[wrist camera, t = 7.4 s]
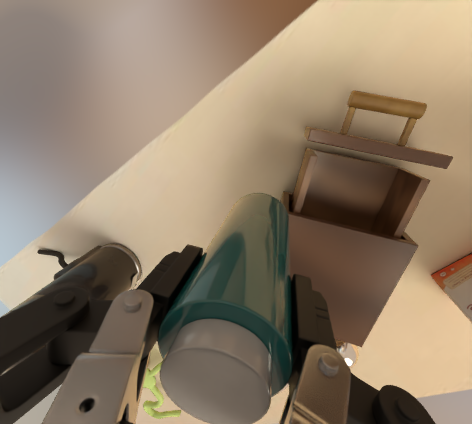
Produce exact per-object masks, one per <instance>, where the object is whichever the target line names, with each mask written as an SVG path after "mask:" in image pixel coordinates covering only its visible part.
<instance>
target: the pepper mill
mask: <svg viewBox="0 0 472 424" xmlns="http://www.w3.org/2000/svg"><path fill="white" fill-rule="evenodd" d="M158 345H159V350H160V353H161V356H162V358H163V361H162V364H161V367H160V380H161V384H162V387H163V389H164V390H165V392H166V394H167V395H168V396H169V398H170V399H171V400H172V401H173V402H174V403H175V404H176V405H177V406H178V407H179V408H181V409H182V410H183V411H185V412H186V413H188V414H190V415H191V416H193V417H195V418H197V419H199V420H202V421H204V422H207V423H210V424H252V423H255V422H257V421H258V420H260V419H261V418H262V417H263V416H264V415H265V414H266V413H267V411H268V409H269V407H270V403H271V397H273V396H274V395H276V394H278V393H279V392H280V391H281V390H282V389H283V388H284V387H285V386H286V385H287V383H288V381H289V379H290V377H291V374H292V371H293V334H292V298H291V262H290V226H289V216H288V213H287V210H286V208H285V207H284V205H283V204H282V203H281V202H280V201H279V200H277V199H276V198H274V197H272V196H270V195H267V194H263V193H253V194H249V195H246V196H244V197H242V198H240V199H239V200H238V201H237V202H236V203H235V204H234V206H233V207H232V209H231V211H230V212H229V214H228V215H227V217H226V219H225V220H224V222H223V223H222V225H221V227H220V228H219V230H218V232H217V233H216V235H215V236H214V238H213V240H212V241H211V243H210V244H209V246H208V248H207V249H206V251H205V253H204V254H203V256H202V257H201V259H200V261H199V262H198V264H197V265H196V267H195V269H194V270H193V272H192V274H191V275H190V277H189V278H188V280H187V282H186V283H185V285H184V286H183V288H182V290H181V291H180V293H179V295H178V296H177V298H176V299H175V301H174V303H173V304H172V306H171V307H170V309H169V311H168V312H167V314H166V316H165V317H164V319H163V320H162V322H161V325H160V327H159V332H158Z"/></svg>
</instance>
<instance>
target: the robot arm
mask: <svg viewBox="0 0 472 424" xmlns="http://www.w3.org/2000/svg"><path fill="white" fill-rule="evenodd" d="M38 254H44V255H52V256H57V257H58V258H59V260H58V261H59V264H60V265H61V266H62V267H63V268H64V269H62V270H61V271H59V272H58V273H56V274H55V275H54V281H53V282H51V283H50V284H48V285H47V286H45V287H44V288H42V289H41V290H40V291H38V292H37V293H35V294H34V295H32V296H31V297H30V298H28V299H27V300H25V301H24V302H22V303H21V304H19V305H18V306H16V307H15V308H13V309H12V310H11V311H9V312H8V313H6V314H5V315H3V316H2V317H1V318H0V375H1V376H0V424H13V423H14V422H16V421H17V420H18V419H19V418H20V417H22V416H23V415H24V414H25V413H27V412H28V411H29V410H30V409H32V408H33V407H34V406H35V405H36V404H38V403H39V402H40V401H41V400H43V399H44V398H45V397H46V396H47V395H49V394H50V393H51V392H52V391H54V390H55V389H56V388H57V387H58V386H60V385H61V384H62V383H63V384H62V386H61V388H60V389H59V391H58V393H57V395H56V397H55V399H54V401H53V403H52V405H51V407H50V409H49V411H48V412H47V414H46V416H45V418H44V420H43V422H42V424H135V423H136V416H137V410H138V406H139V401H140V397H141V393H142V388H143V384H144V380H145V375H146V371H147V367H148V363H149V358H150V352H151V349H152V348H153V346H154V344H155V343H156V341H158V332H159V327H160V325H161V322H162V320H163V319H164V317H165V316H166V314H167V312H168V311H169V309H170V307H171V306H172V304H173V303H174V301H175V299H176V298H177V296H178V295H179V293H180V291H181V290H182V288H183V286H184V285H185V283H186V282H187V280H188V278H189V277H190V275H191V274H192V272H193V270H194V269H195V267H196V265H197V264H198V262H199V261H200V259H201V257H202V254H203V248H200V247H196V246H192V245H189V244H188V245H187V246H186V247H185V248H184V249H183V251H182V252H181V253H179V252H175V251H174V252H172V253H170V254H168V255H166V256H165V257H164V258H163V259H162V260H161V262H160V263H159V264H158V265H157V266H156V267H155V269H153V271H152V272H151V273H150V274H149V275H148V276H147V277H146V278H145V280H144V281H143V282H142V283H141V284H140V285H139V286H138V287H137V289H134V290H132V289H133V288H134V287H135V286H136V282H137V281H138V280H139V278H140V276H141V266H140V263H139V261H138V259H137V258H136V256H135V255H134V254H133V253H132V252H131V251H130V250H129V249H127V248H126V247H124V246H121V245H118V244H107V245H104V246H103V247H102V246H97V247H95V248H94V249H92V250H91V251H89V252H88V253H86V254H85V255H83V256H82V257H80V258H78V259H76V260H74V261H73V262H71V263H70V264H67V263H66V262H65V261H64V255H63V254H61V253H59V252H55V251H48V250H41V249H40V250H38ZM130 288H131V290H129V289H130ZM291 298H292V334H293V371H292V374H291V377H290V379H289V381H288V383H287V384H289V395H288V398H287V400H286V402H285V406H284V409H283V412H282V415H281V418H280V421H279V424H435V422H434V421H433V419H432V418H431V416H430V415H429V414H428V412H427V411H426V409H425V408H424V407H423V406H422V405H421V403H419V401H417V399H416V398H415V397H413V396H412V395H411V394H410V393H408V392H407V391H405V390H403V389H401V388H399V387H397V386H393V385H386V386H383V387H382V388H381V390H380V391H378V390H377V389H375V388H373V387H372V386H370V385H368V384H367V383H365V382H363V381H362V380H360V379H359V378H357V377H356V376H355V375H353V374H352V373H351V371H350V368H349V365H348V364H347V362H346V360H345V359H344V358H343V357H342V355H341V354H339V353H338V352H337V348H336V343H335V338H334V334H333V329H332V325H331V321H330V316H329V313H328V306H327V302H326V300H325V299H324V297H323V296H322V294H321V293H320V292H318V291H315V290H312V283H311V278H309V277H305V276H302V275H298V274H294V275H293V277H292V279H291Z"/></svg>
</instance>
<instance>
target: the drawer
mask: <svg viewBox="0 0 472 424" xmlns="http://www.w3.org/2000/svg"><path fill="white" fill-rule="evenodd" d="M347 106H349V109H348V112H347V115H346V118H345V120H344V123H343V126H342V129H341V132H340V133H337V132H332V131H327V130H322V129H317V128H312V127H306V129H305V133H304V137H305V138H306V139H307V140H308V141H313V142H318V143H323V144H328V145H332V146H337V147H342V148H347V149H352V150H357V151H362V152H366V153H371V154H376V155H381V156H386V157H391V158H395V159H400V160H405V161H410V162H415V163H420V164H425V165H429V166H434V167H439V168H444V169H447V168H448V166H449V164H450V162H451V160H452V159H453V157H452V156H448V155H443V154H439V153H435V152H430V151H426V150H421V149H417V148H412V147H407V146H405V145H406V143H407V140H408V138H409V136H410V134H411V132H412V129H413V127H414V125H415V123H416V120H417V119H420V118H421V117H422V116H423V115H424V113H425V111H426V108H427V104H426V103H421V102H415V101H410V100H404V99H398V98H393V97H387V96H381V95H376V94H370V93H365V92H359V91H352V93H351V95H350V97H349V100H348V104H347ZM356 108H359V109H365V110H370V111H376V112H381V113H386V114H392V115H397V116H402V117H408V118H409V119H408V121H407V123H406V125H405V128H404V130H403V132H402V135H401V137H400V139H399V141H398V144H392V143H387V142H382V141H377V140H372V139H367V138H362V137H357V136H352V135H347V132H348V129H349V126H350V124H351V121H352V118H353V115H354V112H355V109H356ZM429 182H430V180H428V179H426V178H424V177H422V176H419V175H417V174H415V173H412V172H410V171H408V170H405V169H403V168H398V167H394V166H389V165H384V164H379V163H375V162H370V161H365V160H360V159H356V158H351V157H346V156H341V155H337V154H332V153H327V152H322V151H318V150H313V149H308V148H306V152H305V155H304V158H303V162H302V165H301V169H300V172H299V176H298V179H297V182H296V186H295V189H294V193H293V196H292V200H291V203H290V206H289V212H293V213H297V214H301V215H305V216H309V217H313V218H317V219H321V220H325V221H329V222H333V223H338V224H342V225H346V226H350V227H354V228H358V229H362V230H366V231H370V232H374V233H378V234H383V235H387V236H391V237H395V238H399V239H400V238H401V236H402V234H403V232H404V230H405V228H406V226H407V224H408V222H409V220H410V219H411V217H412V215H413V213H414V211H415V209H416V207H417V205H418V203H419V201H420V199H421V197H422V195H423V194H424V192H425V190H426V188H427V186H428V184H429Z"/></svg>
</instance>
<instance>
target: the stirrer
mask: <svg viewBox="0 0 472 424" xmlns="http://www.w3.org/2000/svg"><path fill="white" fill-rule="evenodd" d="M337 352H338V353H339V354H341V355H342V357H343V358H344V359H345V360H346V362H347V364H348V365H349V368H352V367H353V366H354V365H355V364H356V362H357V360H358V356H359V352H358V348H357V346H356V345H353V344H350V343H347V342H345V343H343V344H342V345H340V346H339V347H337ZM288 385H289V384H287V385H286V386H285V387H284V388H283V389H282V390H281V391H283V390H284V389H285V388H286V387H287V386H288ZM281 391H280V392H281Z"/></svg>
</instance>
